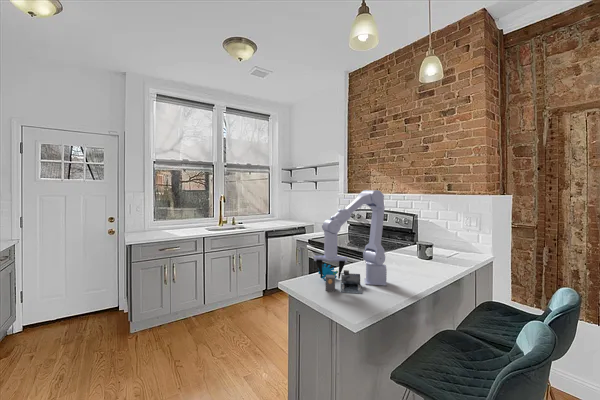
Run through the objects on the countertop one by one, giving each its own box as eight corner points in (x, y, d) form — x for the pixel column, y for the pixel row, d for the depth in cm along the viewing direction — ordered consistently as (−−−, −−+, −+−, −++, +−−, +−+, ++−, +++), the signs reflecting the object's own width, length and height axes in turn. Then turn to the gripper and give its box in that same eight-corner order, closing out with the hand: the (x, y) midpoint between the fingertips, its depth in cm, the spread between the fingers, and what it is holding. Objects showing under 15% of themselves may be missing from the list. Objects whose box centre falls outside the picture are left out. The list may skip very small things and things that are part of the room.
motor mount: (360, 284, 133) (360, 270, 133) (361, 293, 122) (362, 277, 121) (340, 283, 135) (340, 269, 135) (340, 292, 123) (340, 276, 123)
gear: (322, 280, 133) (316, 262, 140) (316, 287, 137) (311, 268, 144) (342, 281, 138) (336, 263, 145) (336, 287, 142) (330, 269, 148)
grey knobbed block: (334, 288, 128) (335, 275, 128) (334, 292, 123) (334, 278, 123) (326, 287, 129) (326, 274, 129) (325, 291, 124) (325, 278, 123)
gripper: (313, 247, 123) (313, 279, 123) (347, 249, 121) (347, 281, 121) (314, 244, 130) (314, 274, 130) (347, 246, 128) (346, 276, 128)
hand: (330, 277), depth 126 cm, fingers open, 7 cm apart
